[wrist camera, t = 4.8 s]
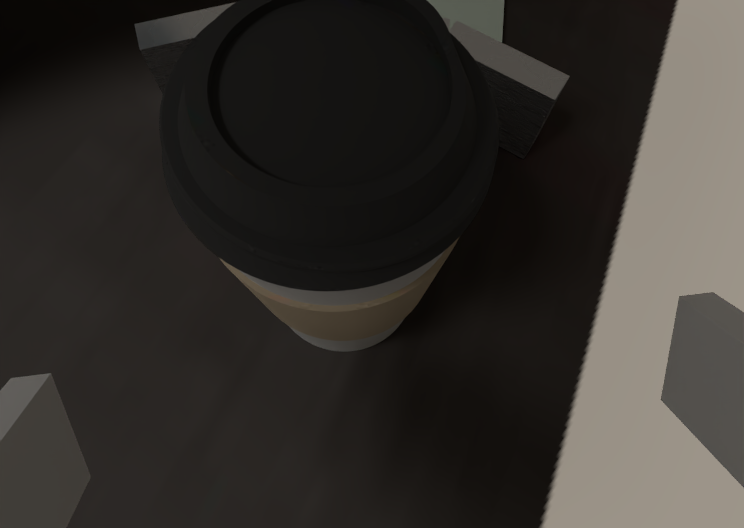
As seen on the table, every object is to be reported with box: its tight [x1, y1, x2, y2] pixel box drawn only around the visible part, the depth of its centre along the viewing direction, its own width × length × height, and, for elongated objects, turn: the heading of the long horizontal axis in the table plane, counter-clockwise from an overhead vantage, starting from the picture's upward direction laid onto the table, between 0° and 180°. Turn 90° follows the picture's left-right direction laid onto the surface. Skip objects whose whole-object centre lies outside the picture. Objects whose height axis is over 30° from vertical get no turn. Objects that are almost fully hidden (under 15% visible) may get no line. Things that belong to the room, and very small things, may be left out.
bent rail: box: [134, 2, 570, 160], centre depth 28 cm, size 20×4×5 cm, turn 83°
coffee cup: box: [159, 0, 499, 351], centre depth 19 cm, size 9×9×15 cm
